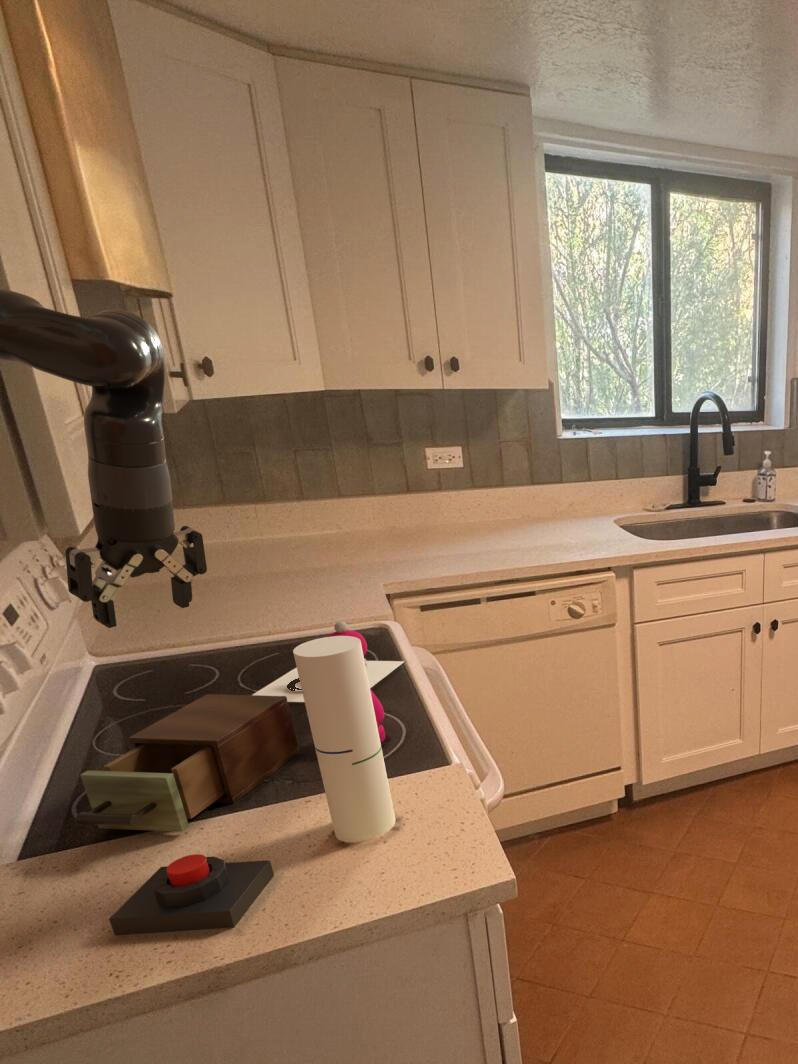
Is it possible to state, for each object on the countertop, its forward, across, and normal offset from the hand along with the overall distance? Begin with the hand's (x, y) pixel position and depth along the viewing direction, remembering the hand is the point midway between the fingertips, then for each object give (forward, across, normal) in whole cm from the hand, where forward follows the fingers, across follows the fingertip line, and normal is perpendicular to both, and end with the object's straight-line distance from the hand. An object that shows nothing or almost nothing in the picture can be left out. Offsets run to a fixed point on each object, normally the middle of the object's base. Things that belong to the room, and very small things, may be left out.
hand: (145, 614), depth 99 cm
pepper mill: (+24, -22, +14) cm, 35 cm away
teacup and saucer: (+32, -36, -13) cm, 50 cm away
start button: (+15, +14, +29) cm, 35 cm away
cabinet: (+26, -6, +5) cm, 27 cm away
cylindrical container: (+18, -5, +34) cm, 38 cm away
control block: (+19, +14, +30) cm, 38 cm away
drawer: (+24, +4, +9) cm, 26 cm away
